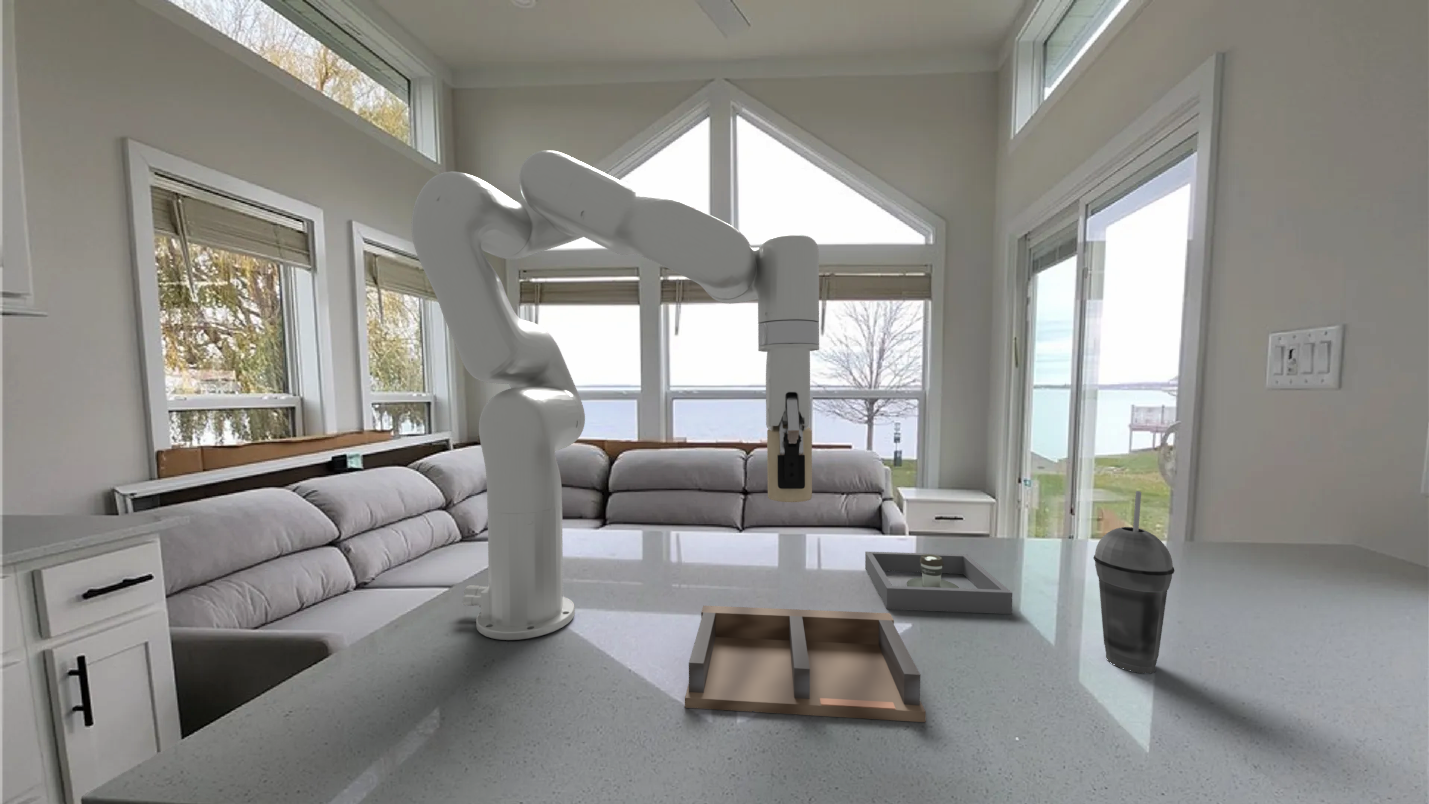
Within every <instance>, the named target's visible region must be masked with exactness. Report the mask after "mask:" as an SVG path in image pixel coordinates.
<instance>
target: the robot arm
mask: <svg viewBox="0 0 1429 804" xmlns="http://www.w3.org/2000/svg"><path fill="white" fill-rule="evenodd" d="M518 177H519V178H518V185H519V190H520V192H521V195H522V197H523V198H521V199H518V200H514V199H513V198H511V197H510V196H508V195H507V194H505V193H504V192H502V191H501V190H499V189H497V188H496V187H495V186H493V185H492V184H490V183H488V182H487V181H485V180H483V179H481V178H480V177H477V176H474V175H472V174H468V173H465V172H461V171H460V172H459V171H455V170H453V171H444V172H441V173H438V174H435V175H434V176H432V177H431V178H430V179H429V180H427V182H426V183H425V184H424V185H423V186H422V188H421V190H420V191H419V194H418V195H417V196H416V197H417V198H416V199H415V203H414V206H413V209H412V215H411V237H412V241H413V246H414V250H415V253H416V255H417V258H418V260H419V263H420V265H421V267H422V269H423V271H424V273H425V276H426V278H427V280H428V281H429V284H430V286H431V288H432V291H433V292H434V295H435V297H436V299H437V302H438V304H439V308H440V311H441V313H442V315H443V319H444V321H445V323H446V326H447V328H448V331H449V333H450V335H451V338H452V340H453V342H454V345H455V348H456V349H457V352H458V355H459V357H460V359H461V362H462V364H463V367H464V368H465V370H466V371H467V372H468V373H469V374H470V376H472V377H473V378H474V379H476V380H478V381H480V382H483V383H489V384H496V385H497V384H498V385H499V384H500V385H509V387H510V388H508V389H504V390H501V391H500V392H498V393H496V394H495V395H493V397H491V398H490V399H489V400H487V402H486V404H485V405H484V406H483V408H482V411H481V413H480V417H479V421H478V422H479V423H478V434H479V435H478V436H479V442H480V447H481V452H482V456H483V461H484V468H485V469H484V470H485V475H486V478H485V479H486V502H487V505H486V506H487V551H488V552H487V556H488V557H487V558H488V559H487V560H488V561H487V562H488V563H487V564H488V566H487V567H488V585H487V586H481V585H473V584H472V585H471V584H470V585H467V586H466V587H465V588H464V591H463V598H462V605H463V606H465V607H466V606H467V607H469V606H470V607H471V606H472V607H473V606H478V607H479V608H480V612H479V613H478V615H477V616H476V623H475V625H476V626H475V627H476V630H477V631H478V632H479V633H480V634H481V635H483V636H484V637H487V638H491V639H495V640H502V641H505V640H506V641H515V640H519V641H520V640H527V639H533V638H538V637H541V636H544V635H549V634H551V633H554V632H556V631H559V630H560V629H561V628H564V627H565V626H566V625H568V624H569V623H570V622H571V621H573V619H574V617H575V614H576V613H575V611H576V610H575V609H576V608H575V603H574V602H573V601H572V599H569V598H568V597H566V596H564V569H563V568H564V564H563V563H564V561H563V560H564V559H563V557H564V556H563V555H564V554H563V553H564V552H563V551H564V550H563V545H564V543H563V489H562V486H563V485H562V478H561V477H562V476H561V472H560V471H561V470H560V467H559V465H558V460H557V456H556V452H558V451H559V450H563V449H565V448H568V447H570V446H571V445H573V444H574V443H575V442H577V440H579V438H580V437H581V435H582V433H583V431H584V428H585V424H586V423H585V422H586V416H585V415H586V414H585V408H584V405H583V401H582V400H581V397H580V394H579V392H578V389H577V387H576V385H575V382H574V380H573V377H572V375H571V373H570V371H569V368H568V366H567V364H566V361H565V359H564V356H563V354H562V351H561V349H560V347H559V345H558V343H557V342H556V340H555V339H554V338H553V336H552V335H551V334H550V332H548V331H547V330H546V329H545V328H544V327H542V326H541V325H539V324H538V323H536V322H535V323H534V322H532V321H529V320H525V319H522V318H520V316H518V315H517V314H516V312H515V311H514V309H513V307H512V304H511V302H510V300H509V298H508V296H507V292H506V290H505V288H504V285H503V283H502V280H501V279H500V277H499V275H498V274H497V271H496V270H495V269H494V267H493V265H492V264H491V263H490V261H489V260H488V259H487V256H486V255H485V253H488V254H490V255H492V256H494V257H496V258H500V259H506V260H519V259H523V258H527V257H531V256H533V255H536V254H539V253H542V252H545V251H547V250H551V249H554V248H557V247H559V246H562V245H565V244H568V243H571V242H575V241H576V240H579V239H581V238H586V239H587V240H590V241H591V242H593V243H595V244H596V245H597V244H598V245H600V246H601V247H603V248H605V249H607V250H609V251H611V252H613V253H615V254H618V255H621V256H629V255H635V256H639V257H641V258H644V259H647V260H649V261H652V262H654V263H656V264H659V265H660V266H662V267H665V268H667V269H669V270H670V271H673V272H675V273H676V274H679V275H681V276H683V277H685V278H686V279H689V280H690V281H692V282H694V283H697V284H698V285H700V286H701V288H703V290H704V291H705V292H706V293H707V294H708V295H709V297H711V299H713V300H714V301H717V302H719V303H723V304H728V305H729V304H739V303H744V302H750V301H755V300H757V321H758V323H757V325H758V327H757V332H758V334H757V336H758V337H757V340H758V341H757V343H758V345H757V346H758V348H757V350H758V352H763V353H766V361H765V362H766V363H765V425H766V428H767V430H768V429H769V430H770V431H773V426H779V443H780V455H777V456H778V487H779V488H780V489H803V488H804V487H805V455H803V431H804V430H806V429H807V428H808V427H809V425H810V412H811V411H810V410H811V408H810V407H811V354H810V353H811V352H814V351H819V350H820V258H819V256H820V253H819V246H818V244H817V242H816V240H814V239H813V238H812V237H810V236H808V235H804V234H798V233H797V234H796V233H794V234H793V233H789V234H788V233H787V234H784V233H783V234H779V235H778V234H777V235H774V236H770V237H768V238H766V239H765V240H763V241H762V242H761V243H760V245H759V247H752V246H751V244H750V242H749V241H748V239H747V237H746V236H745V235H744V234H743V233H741V231H739V230H738V228H736V227H734V226H733V225H730V224H729V223H727V222H725V221H723V220H722V219H719V218H717V217H715V216H713V215H711V214H709V213H706V212H705V211H702V210H701V209H699V208H696V207H693V206H692V205H689V204H687V203H686V202H683V201H681V200H678V199H676V198H672V197H668V196H664V195H660V194H656V193H653V192H650V191H649V192H648V191H645V190H642V189H640V188H637V187H635V186H633V185H631V184H628V183H627V182H624V181H622V180H619V179H618V178H616V177H614V176H611V175H609V174H607V173H606V172H603V171H601V170H599V169H597V168H595V167H592V166H591V165H589V164H587V163H585V162H583V161H580V160H578V159H576V158H574V157H573V156H572V157H571V156H570V155H568V154H565V153H563V152H560V151H556V150H550V149H549V150H547V149H546V150H539V151H535V152H533V153H532V154H530V155H529V156H528V157H527V158H526V159H525V160H524V162H523V163H522V165H521V167H520V169H519V174H518ZM484 252H485V253H484ZM783 425H787V428H783ZM803 426H804V429H803ZM784 435H785V437H784ZM784 442H785V445H784Z"/></svg>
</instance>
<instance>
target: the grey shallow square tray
mask: <svg viewBox="0 0 1429 804" xmlns="http://www.w3.org/2000/svg"><path fill="white" fill-rule="evenodd" d="M923 554H933V555H937V556H940V557H942V559H943V563H944V566H942V574H958V575H959V574H960V575H961V574H963V576H965V578H967V579H968V581H970V582H971V583H972V584H973V585H974V586H975V587H976V588H966V587H965V588H964V587H963V588H962V587H959V588H938V587H911V586H907V585H905V586H903V585H893V584H892V583H891V581H890V580H889V578H888V577H887V574H886V572H896V573H897V572H898V573H901V572H903V573H922V572H921V563H920V558H921V555H923ZM864 558H865V560H864V561H865V563H864V565H865V568H864V569H865V571H866V573H867V575H868V576H869V579H870V581H871V582H872V584H873V586H874V588H875V590H876V592H877V593H878V596H879V597H880V599H881V601H882V602H883V605H884V606H885V608H886V610H902V611H903V610H905V611H927V612H928V611H930V612H947V613H948V612H949V613H950V612H951V613H952V612H953V613H978V614H999V615H1000V614H1001V615H1002V614H1003V615H1005V614H1006V615H1013V592H1012V591H1011V590H1010V589H1008V588H1007V586H1005V585H1004V584H1002V582H1000V581H999V579H996V577H995V576H993V575H992V574H990V572H988V571H987V569H985V568H983V566H981V565H980V564H979V563H978V562H977V561H976V560H974V559H973V558H972V557H971V556H969V555H968V554H961V553H960V554H959V553H958V554H957V553H954V554H953V553H933V552H932V553H927V552H926V553H922V552H897V551H896V552H895V551H894V552H892V551H891V552H890V551H865V557H864Z"/></svg>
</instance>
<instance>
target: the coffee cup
mask: <svg viewBox="0 0 1429 804" xmlns="http://www.w3.org/2000/svg"><path fill="white" fill-rule="evenodd" d="M933 554H934V553H932V554H923V555H921V558H920V563H921V572H920V573H921V576H922V577H914V578H911V579H908V580H907V582H906V586H911V587H938V588H960V587H959V586H958V585H957V584H955V583H953V582H950V581H948V580H945V579H941V578H942V574H943V573H942V566H944V563H943V559H942V557H940V556H937V555H933Z"/></svg>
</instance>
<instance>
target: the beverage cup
mask: <svg viewBox="0 0 1429 804" xmlns="http://www.w3.org/2000/svg"><path fill="white" fill-rule="evenodd" d="M1141 501H1142V492H1141V491H1139V490H1138V491H1137V490H1135V499H1134V510H1133V511H1134V513H1133V526H1122V527H1117V528H1114V529H1111V530H1110V531H1108V532H1107V533H1105V535H1103V536H1102V537H1101V538H1100V540H1099V541H1098V543H1097V545H1096V548H1095V552H1094V555H1093V560H1094V566H1095V571H1096V576H1097V578H1098V585H1099V586H1098V587H1099V598H1100V610H1101V611H1100V612H1101V622H1102V634H1103V635H1102V637H1103V645H1104V648H1105V649H1104V650H1105V651H1104V652H1105V659H1106V658H1107V659H1108V660H1107V659H1106V660H1107V662H1109V661H1110V662H1111V663H1112V664H1111V663H1110V662H1109V663H1110V664H1111V665H1113V664H1115V665H1114V666H1115V667H1117V666H1118V667H1117V668H1119V667H1121V668H1124V669H1126V670H1125V671H1127V670H1131V671H1133V672H1132V673H1135V672H1137V673H1136V674H1143V673H1149V674H1153V673H1155V672H1156V670H1157V663H1158V658H1159V654H1160V648H1161V640H1162V632H1163V625H1164V618H1165V611H1166V603H1167V597H1168V596H1167V595H1168V590H1169V588H1170V587H1171V586H1170V585H1171V582H1172V579H1173V574H1174V573H1175V567H1174V566H1173V565H1174V564H1173V559H1172V556H1171V553H1170V551H1169V549H1168V548H1167V546H1166V545H1165V544H1164V543H1163V542H1162V540H1161V539H1160V538H1159V537H1157V536H1156V535H1154V534H1153V533H1151V532H1150V531H1148V530H1145V529H1143V528H1139V527H1140V516H1141V515H1140V513H1141V503H1142V502H1141ZM1121 668H1120V669H1121ZM1124 669H1123V670H1124Z"/></svg>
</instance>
